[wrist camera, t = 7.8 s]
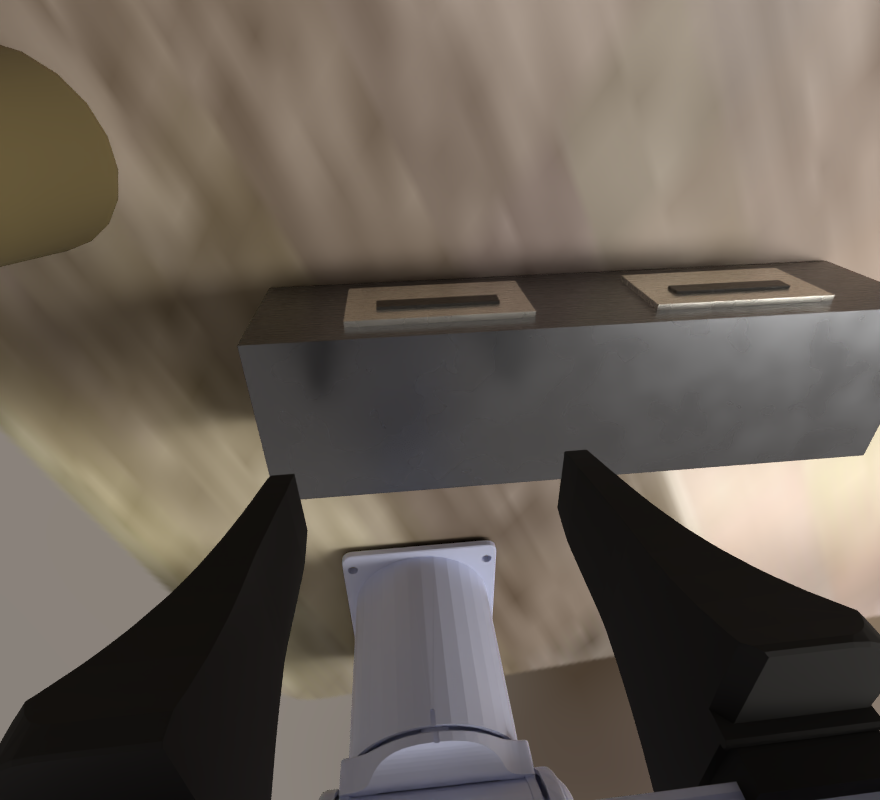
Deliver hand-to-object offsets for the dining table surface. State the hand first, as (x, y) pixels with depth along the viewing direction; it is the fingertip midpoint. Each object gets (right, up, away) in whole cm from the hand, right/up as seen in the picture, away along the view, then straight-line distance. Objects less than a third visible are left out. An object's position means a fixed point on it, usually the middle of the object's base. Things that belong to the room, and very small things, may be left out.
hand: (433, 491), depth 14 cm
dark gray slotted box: (+5, +5, +8) cm, 10 cm away
